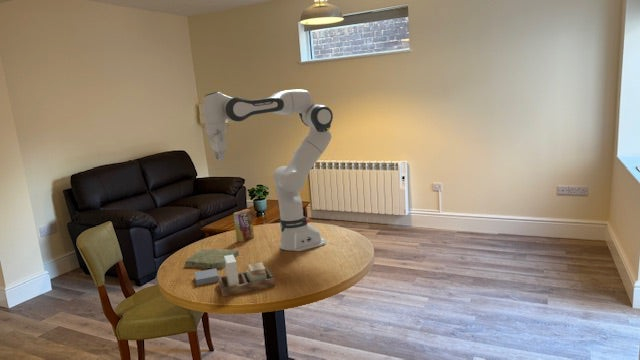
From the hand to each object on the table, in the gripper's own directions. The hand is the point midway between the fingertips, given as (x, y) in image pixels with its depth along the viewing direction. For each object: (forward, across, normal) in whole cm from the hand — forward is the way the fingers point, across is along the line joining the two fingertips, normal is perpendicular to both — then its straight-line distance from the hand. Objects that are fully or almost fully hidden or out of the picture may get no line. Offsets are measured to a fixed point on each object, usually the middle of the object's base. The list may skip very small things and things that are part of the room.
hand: (219, 160), depth 203 cm
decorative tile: (+47, +3, +9) cm, 48 cm away
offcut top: (+42, -34, -4) cm, 54 cm away
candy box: (+47, +26, -13) cm, 55 cm away
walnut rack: (+46, -34, +1) cm, 57 cm away
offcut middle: (+44, -34, -3) cm, 56 cm away
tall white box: (+46, -34, +6) cm, 58 cm away
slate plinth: (+46, -19, +14) cm, 52 cm away
